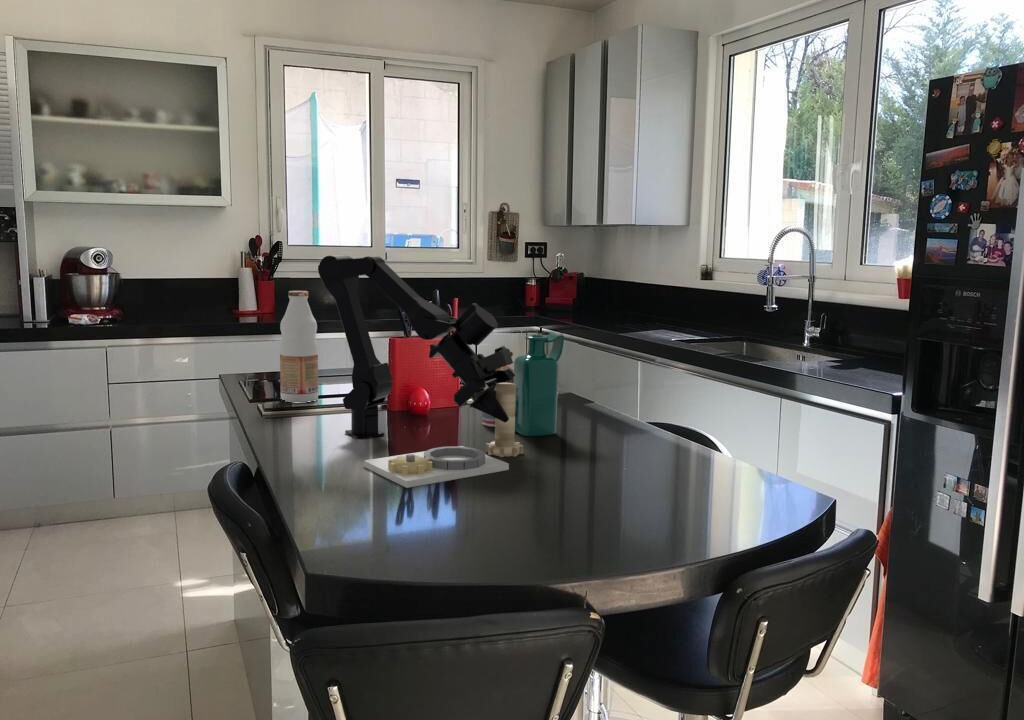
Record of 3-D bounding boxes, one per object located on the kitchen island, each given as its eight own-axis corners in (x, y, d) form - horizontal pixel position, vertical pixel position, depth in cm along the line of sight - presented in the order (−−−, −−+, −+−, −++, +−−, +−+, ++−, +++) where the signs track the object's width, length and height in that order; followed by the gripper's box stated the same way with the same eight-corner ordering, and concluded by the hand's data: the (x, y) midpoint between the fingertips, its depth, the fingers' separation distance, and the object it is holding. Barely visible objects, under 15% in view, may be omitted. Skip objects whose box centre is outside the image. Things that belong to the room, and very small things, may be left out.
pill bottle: (502, 427, 200) (503, 389, 198) (480, 426, 201) (480, 388, 200) (507, 422, 205) (508, 385, 204) (485, 421, 206) (486, 384, 205)
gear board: (363, 466, 165) (363, 447, 164) (461, 451, 178) (462, 433, 177) (406, 487, 152) (406, 467, 151) (508, 469, 165) (509, 450, 164)
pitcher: (523, 437, 191) (526, 337, 188) (509, 429, 199) (511, 332, 195) (564, 434, 194) (567, 336, 191) (549, 426, 202) (552, 331, 199)
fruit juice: (280, 404, 219) (278, 292, 215) (280, 397, 228) (279, 289, 224) (318, 403, 222) (318, 292, 217) (317, 396, 231) (316, 290, 226)
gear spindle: (478, 450, 178) (480, 383, 176) (508, 446, 183) (509, 380, 181) (500, 458, 173) (501, 388, 170) (530, 453, 177) (532, 385, 175)
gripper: (469, 339, 167) (521, 401, 165) (507, 330, 184) (554, 386, 182) (432, 376, 171) (482, 438, 169) (472, 363, 188) (518, 419, 186)
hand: (511, 418), depth 176 cm, fingers closed on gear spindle, 4 cm apart
